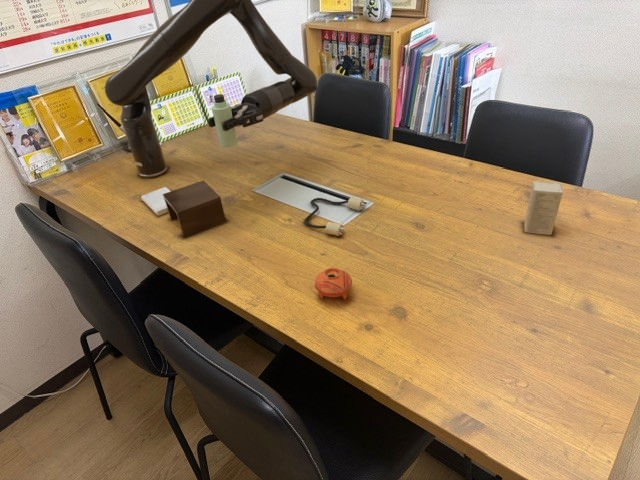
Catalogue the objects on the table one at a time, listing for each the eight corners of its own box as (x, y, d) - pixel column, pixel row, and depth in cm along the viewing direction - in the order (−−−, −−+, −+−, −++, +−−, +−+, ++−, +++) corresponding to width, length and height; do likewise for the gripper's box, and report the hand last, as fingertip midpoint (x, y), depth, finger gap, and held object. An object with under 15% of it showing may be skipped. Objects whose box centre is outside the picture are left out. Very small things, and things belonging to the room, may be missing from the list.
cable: (288, 227, 119) (287, 216, 117) (316, 198, 130) (315, 187, 128) (341, 240, 113) (340, 229, 110) (366, 208, 124) (366, 197, 122)
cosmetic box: (550, 226, 111) (562, 183, 104) (551, 236, 108) (564, 192, 101) (523, 222, 113) (533, 180, 106) (523, 232, 110) (533, 189, 103)
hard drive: (140, 196, 135) (156, 211, 127) (166, 186, 139) (182, 200, 131) (142, 200, 136) (158, 216, 128) (167, 190, 140) (184, 205, 132)
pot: (327, 312, 92) (320, 284, 89) (313, 296, 99) (307, 270, 96) (361, 298, 94) (355, 271, 92) (345, 284, 101) (340, 257, 98)
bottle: (217, 143, 117) (206, 95, 110) (233, 138, 119) (223, 91, 112) (224, 149, 114) (213, 100, 107) (240, 143, 116) (231, 95, 109)
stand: (170, 218, 127) (162, 194, 122) (209, 204, 132) (203, 180, 127) (184, 237, 118) (177, 212, 114) (226, 221, 123) (220, 196, 119)
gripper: (242, 86, 123) (194, 106, 113) (280, 93, 116) (233, 115, 105) (246, 112, 128) (201, 134, 117) (284, 121, 120) (238, 145, 110)
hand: (216, 125), depth 112 cm, fingers closed on bottle, 4 cm apart
